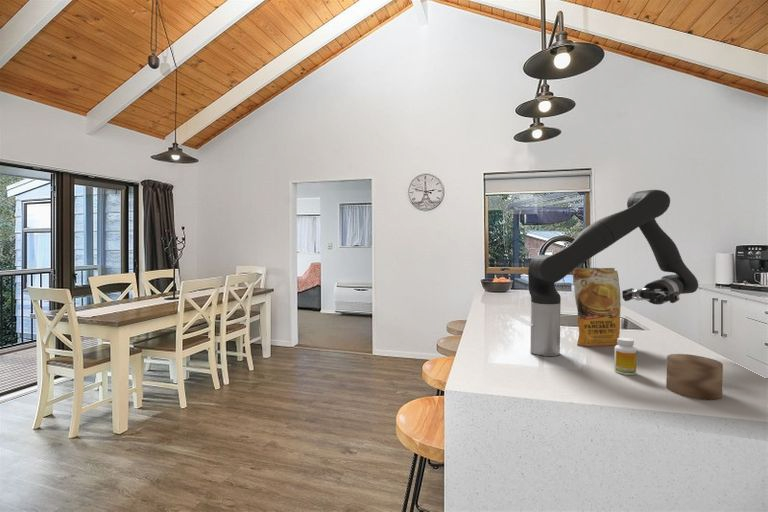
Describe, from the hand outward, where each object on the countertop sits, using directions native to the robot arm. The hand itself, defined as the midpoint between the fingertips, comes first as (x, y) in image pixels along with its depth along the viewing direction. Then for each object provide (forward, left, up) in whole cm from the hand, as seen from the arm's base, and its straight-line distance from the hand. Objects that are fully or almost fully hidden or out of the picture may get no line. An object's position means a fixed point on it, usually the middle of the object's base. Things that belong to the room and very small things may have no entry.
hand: (640, 299), depth 118 cm
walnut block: (+7, -19, -20) cm, 29 cm away
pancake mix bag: (-9, +22, -20) cm, 31 cm away
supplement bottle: (-6, -9, -20) cm, 23 cm away
